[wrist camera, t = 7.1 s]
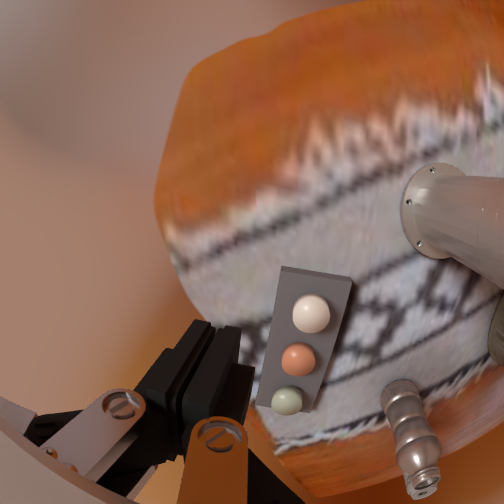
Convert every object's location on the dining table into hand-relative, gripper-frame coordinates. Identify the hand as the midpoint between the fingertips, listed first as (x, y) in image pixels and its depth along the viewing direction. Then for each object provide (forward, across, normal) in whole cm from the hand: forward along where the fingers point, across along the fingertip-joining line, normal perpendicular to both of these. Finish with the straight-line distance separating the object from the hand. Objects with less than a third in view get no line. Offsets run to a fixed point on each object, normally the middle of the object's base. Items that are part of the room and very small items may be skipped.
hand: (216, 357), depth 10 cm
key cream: (+25, -6, +9) cm, 27 cm away
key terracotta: (+25, -6, +16) cm, 31 cm away
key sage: (+24, -5, +24) cm, 34 cm away
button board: (+27, -6, +16) cm, 32 cm away
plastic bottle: (+27, -24, +23) cm, 43 cm away
